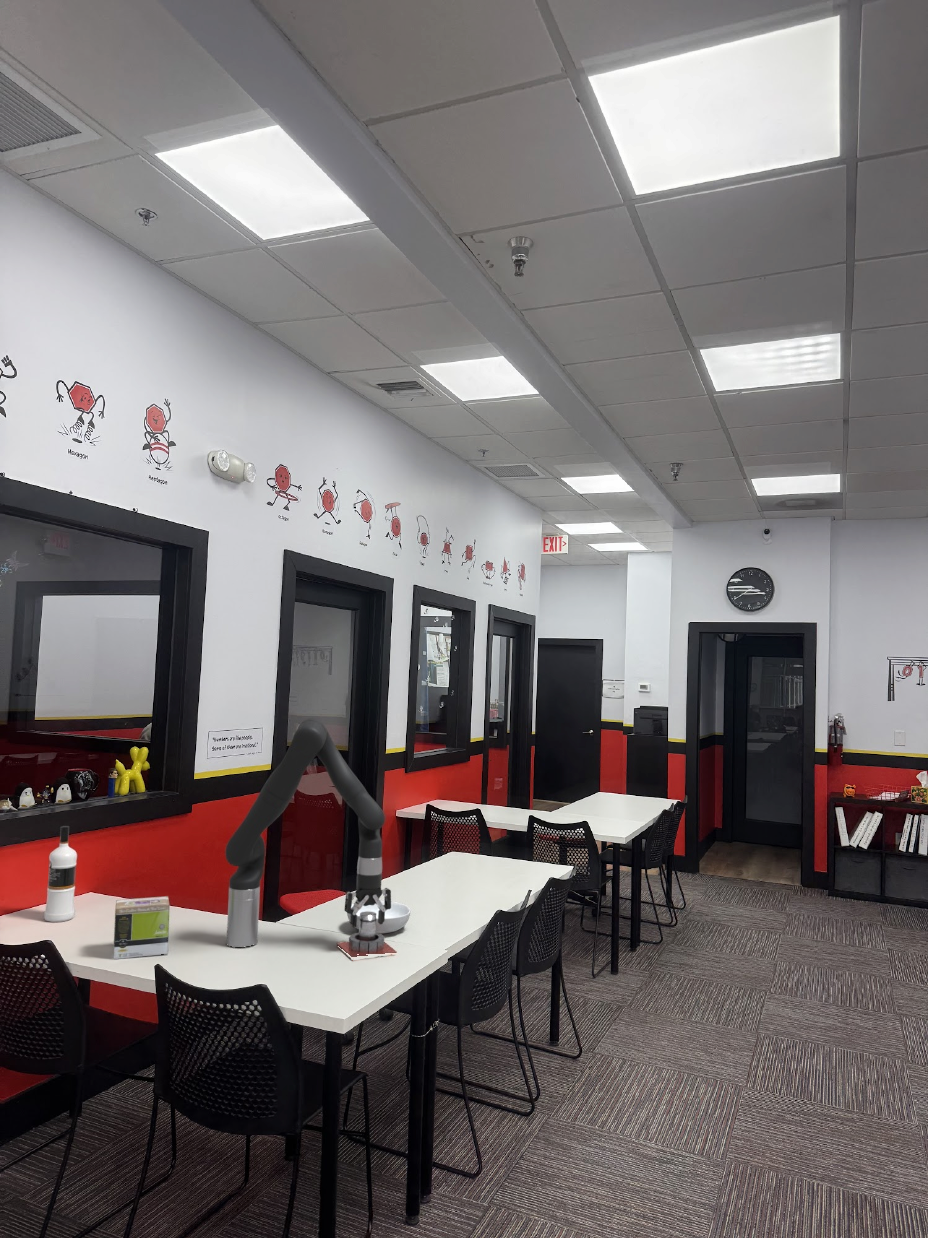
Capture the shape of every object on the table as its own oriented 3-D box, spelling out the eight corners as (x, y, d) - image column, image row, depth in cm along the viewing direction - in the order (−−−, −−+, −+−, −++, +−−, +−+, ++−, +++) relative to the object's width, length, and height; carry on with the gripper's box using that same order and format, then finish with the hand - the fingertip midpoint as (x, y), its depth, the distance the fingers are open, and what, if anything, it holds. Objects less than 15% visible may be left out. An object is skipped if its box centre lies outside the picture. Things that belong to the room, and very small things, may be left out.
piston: (355, 945, 261) (357, 912, 262) (371, 944, 263) (372, 910, 264) (361, 951, 257) (363, 917, 257) (377, 949, 259) (378, 915, 259)
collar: (336, 946, 263) (337, 933, 263) (379, 941, 269) (379, 928, 270) (352, 961, 251) (353, 947, 251) (396, 955, 257) (397, 941, 257)
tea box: (166, 945, 259) (169, 895, 260) (168, 955, 250) (170, 904, 251) (113, 949, 254) (116, 898, 255) (112, 960, 245) (115, 907, 245)
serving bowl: (379, 944, 266) (380, 922, 267) (332, 930, 279) (333, 908, 279) (422, 929, 283) (423, 908, 283) (376, 916, 296) (377, 896, 296)
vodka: (75, 921, 279) (81, 828, 281) (44, 924, 275) (49, 829, 276) (73, 913, 287) (79, 823, 289) (43, 916, 283) (48, 824, 285)
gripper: (386, 866, 268) (384, 919, 267) (343, 870, 261) (340, 924, 261) (395, 872, 261) (393, 926, 261) (351, 876, 255) (349, 931, 254)
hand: (367, 925), depth 261 cm, fingers open, 8 cm apart
